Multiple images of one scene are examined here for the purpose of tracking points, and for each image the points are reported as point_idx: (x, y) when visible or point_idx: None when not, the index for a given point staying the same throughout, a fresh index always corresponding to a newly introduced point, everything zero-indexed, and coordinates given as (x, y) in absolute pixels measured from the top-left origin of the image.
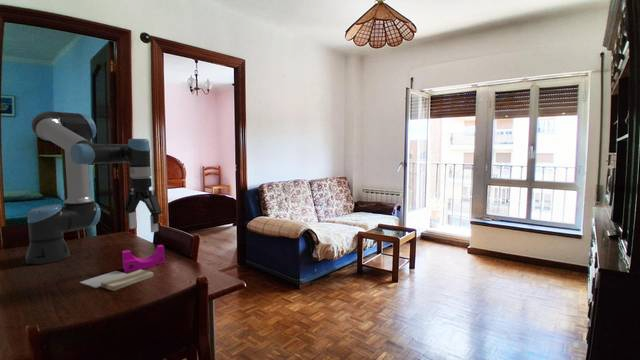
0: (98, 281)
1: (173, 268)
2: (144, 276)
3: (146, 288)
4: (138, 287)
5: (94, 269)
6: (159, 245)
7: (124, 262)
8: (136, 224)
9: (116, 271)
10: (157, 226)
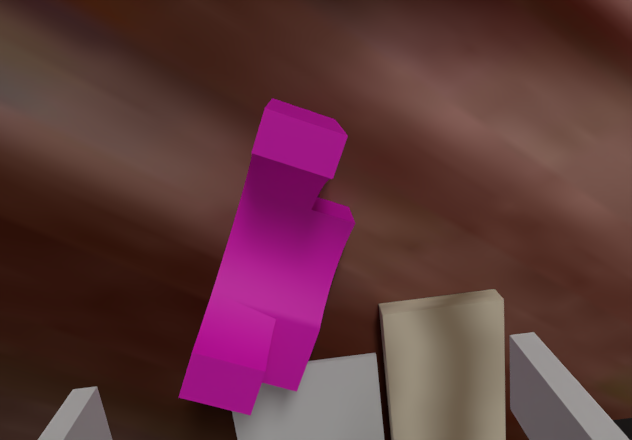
0: None
1: (482, 145)
2: (501, 348)
3: (610, 385)
4: None
5: None
6: (277, 143)
7: (288, 386)
8: (79, 418)
9: None
10: (564, 376)
